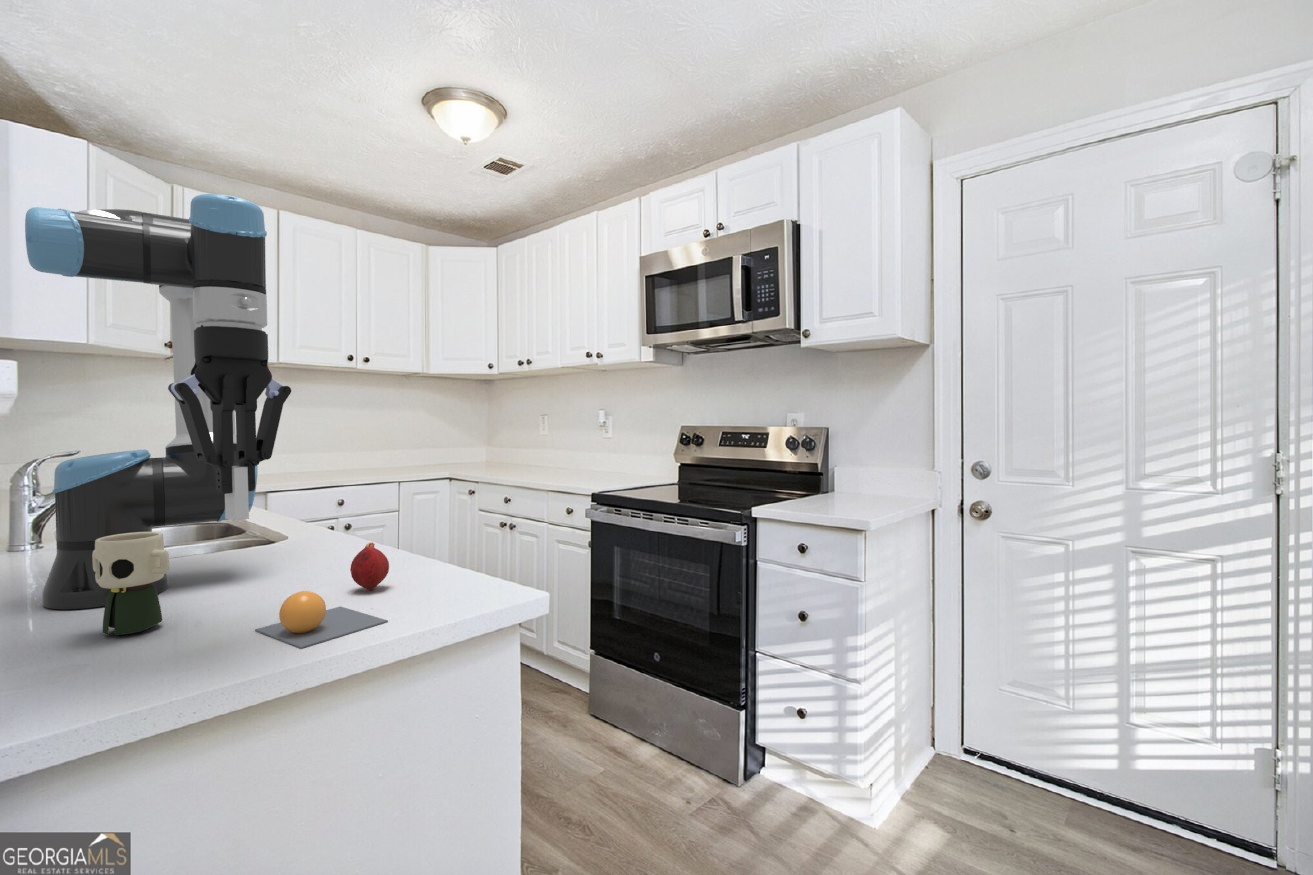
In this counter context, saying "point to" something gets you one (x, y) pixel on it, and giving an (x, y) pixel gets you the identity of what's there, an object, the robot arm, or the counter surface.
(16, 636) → the counter surface
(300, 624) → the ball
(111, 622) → the character mug
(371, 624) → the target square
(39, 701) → the counter surface
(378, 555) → the onion
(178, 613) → the counter surface
